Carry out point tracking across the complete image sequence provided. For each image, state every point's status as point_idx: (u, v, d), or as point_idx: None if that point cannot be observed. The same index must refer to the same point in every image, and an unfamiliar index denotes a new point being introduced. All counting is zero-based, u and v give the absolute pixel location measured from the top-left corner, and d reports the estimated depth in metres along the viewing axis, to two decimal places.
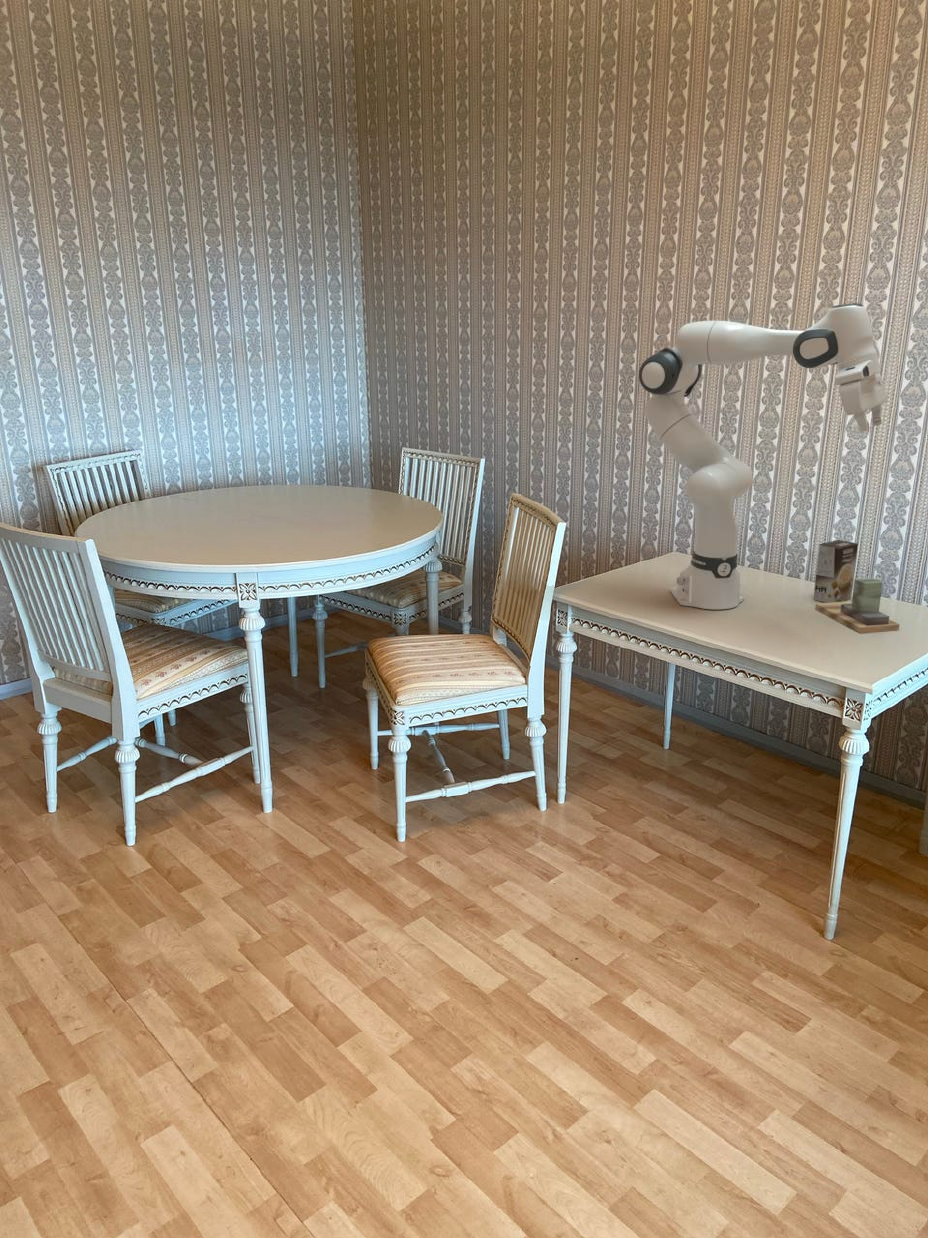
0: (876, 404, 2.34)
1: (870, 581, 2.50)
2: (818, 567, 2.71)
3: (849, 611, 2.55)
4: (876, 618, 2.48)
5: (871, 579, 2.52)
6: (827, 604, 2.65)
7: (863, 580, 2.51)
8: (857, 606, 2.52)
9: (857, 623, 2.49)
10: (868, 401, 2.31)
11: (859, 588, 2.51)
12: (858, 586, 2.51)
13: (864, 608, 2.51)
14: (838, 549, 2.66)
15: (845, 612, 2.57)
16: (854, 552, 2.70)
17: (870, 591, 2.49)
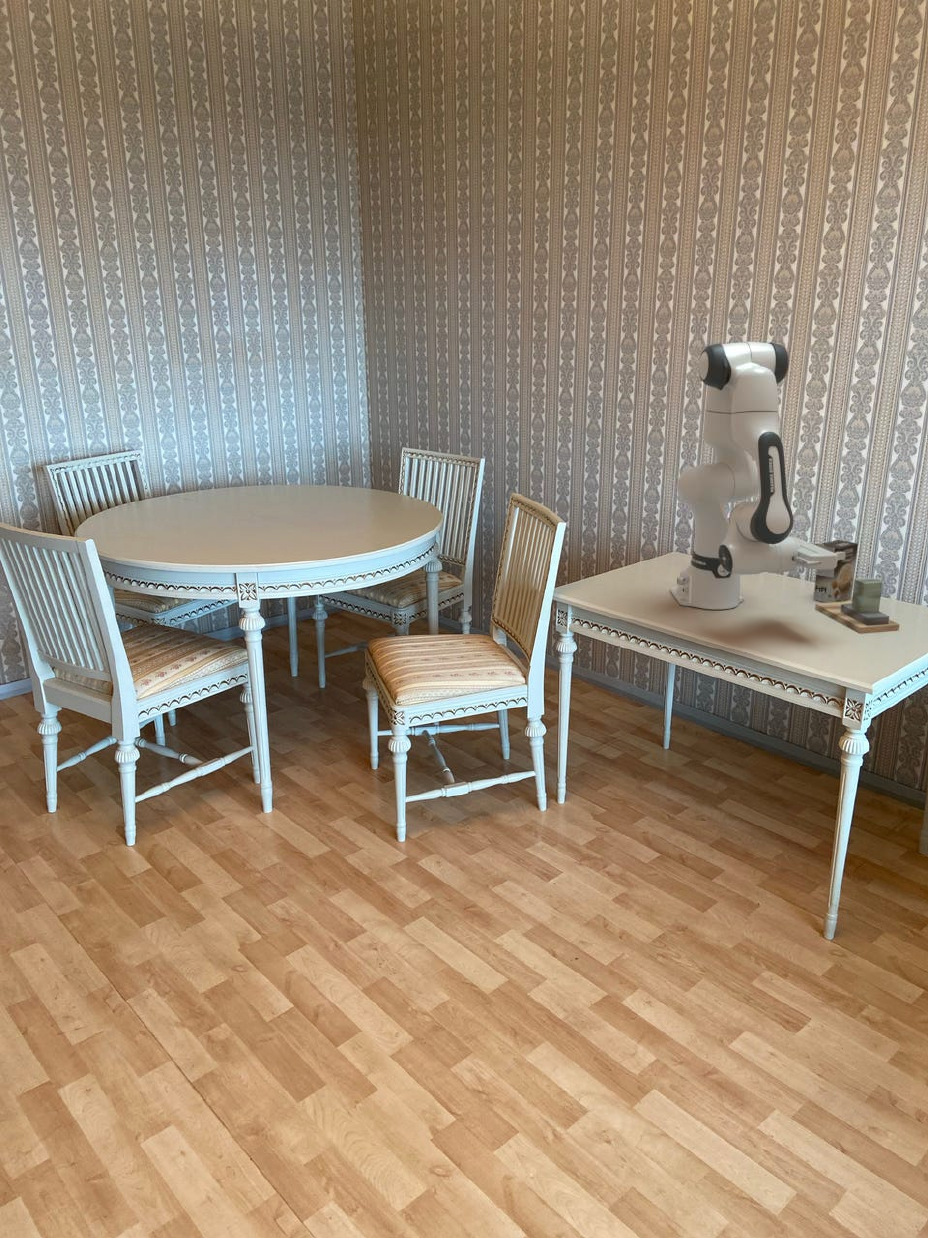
0: None
1: (870, 581, 2.50)
2: None
3: (849, 611, 2.55)
4: (876, 618, 2.48)
5: (871, 579, 2.52)
6: (827, 604, 2.65)
7: (863, 580, 2.51)
8: (857, 606, 2.52)
9: (857, 623, 2.49)
10: None
11: (859, 588, 2.51)
12: (858, 586, 2.51)
13: (864, 608, 2.51)
14: (838, 549, 2.66)
15: (845, 612, 2.57)
16: (854, 552, 2.70)
17: (870, 591, 2.49)
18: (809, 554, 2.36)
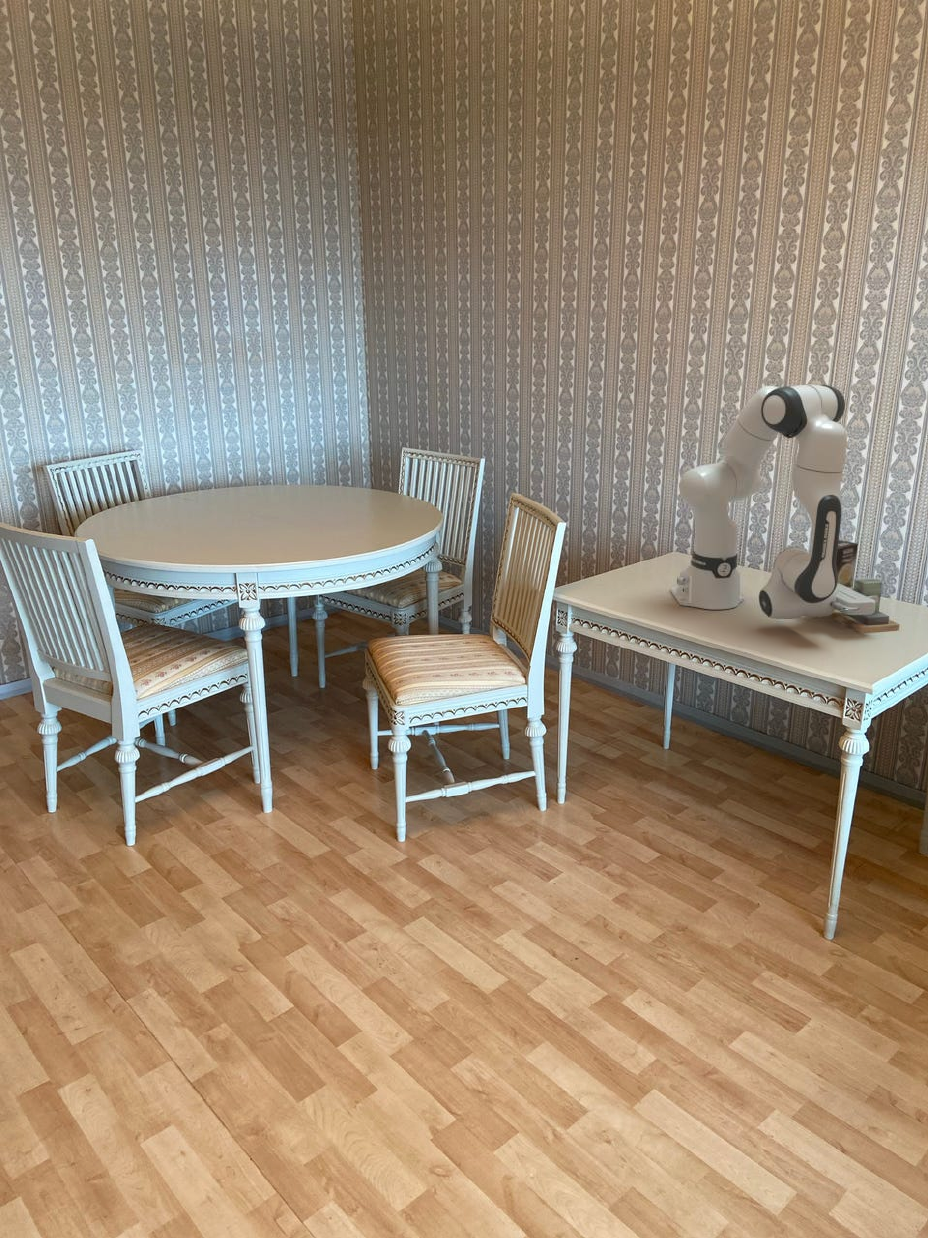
0: None
1: (870, 581, 2.50)
2: None
3: None
4: (876, 618, 2.48)
5: (871, 579, 2.52)
6: None
7: (863, 580, 2.51)
8: None
9: (857, 623, 2.49)
10: None
11: (859, 587, 2.51)
12: (858, 586, 2.51)
13: None
14: (838, 549, 2.66)
15: None
16: (854, 552, 2.70)
17: (870, 591, 2.49)
18: (848, 600, 2.42)
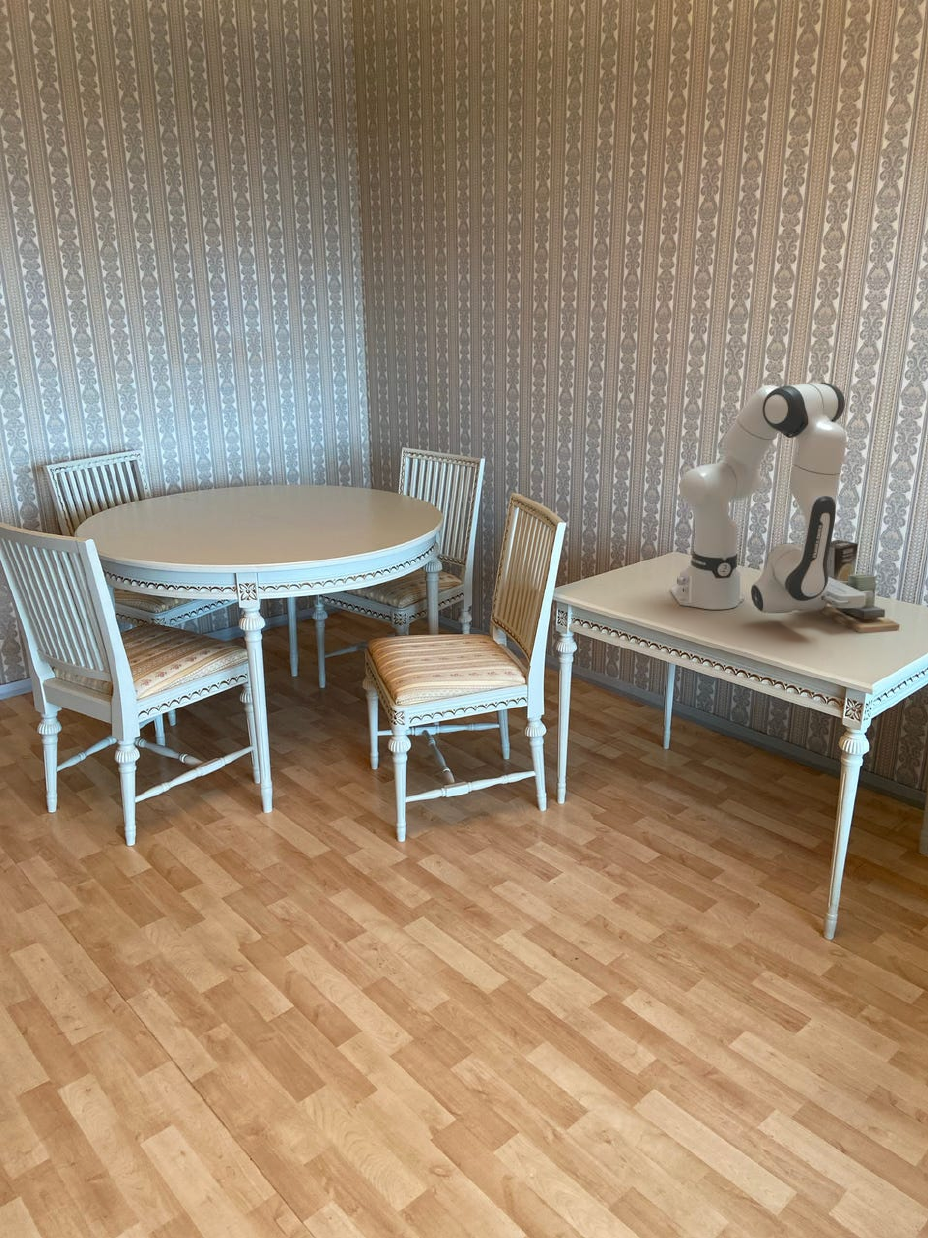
0: None
1: (863, 575, 2.53)
2: None
3: None
4: (872, 611, 2.50)
5: (864, 574, 2.55)
6: (827, 604, 2.65)
7: (857, 576, 2.53)
8: None
9: (857, 623, 2.49)
10: None
11: (853, 583, 2.53)
12: (852, 581, 2.53)
13: None
14: (838, 549, 2.66)
15: (841, 609, 2.59)
16: (854, 552, 2.70)
17: (864, 585, 2.52)
18: (838, 594, 2.46)
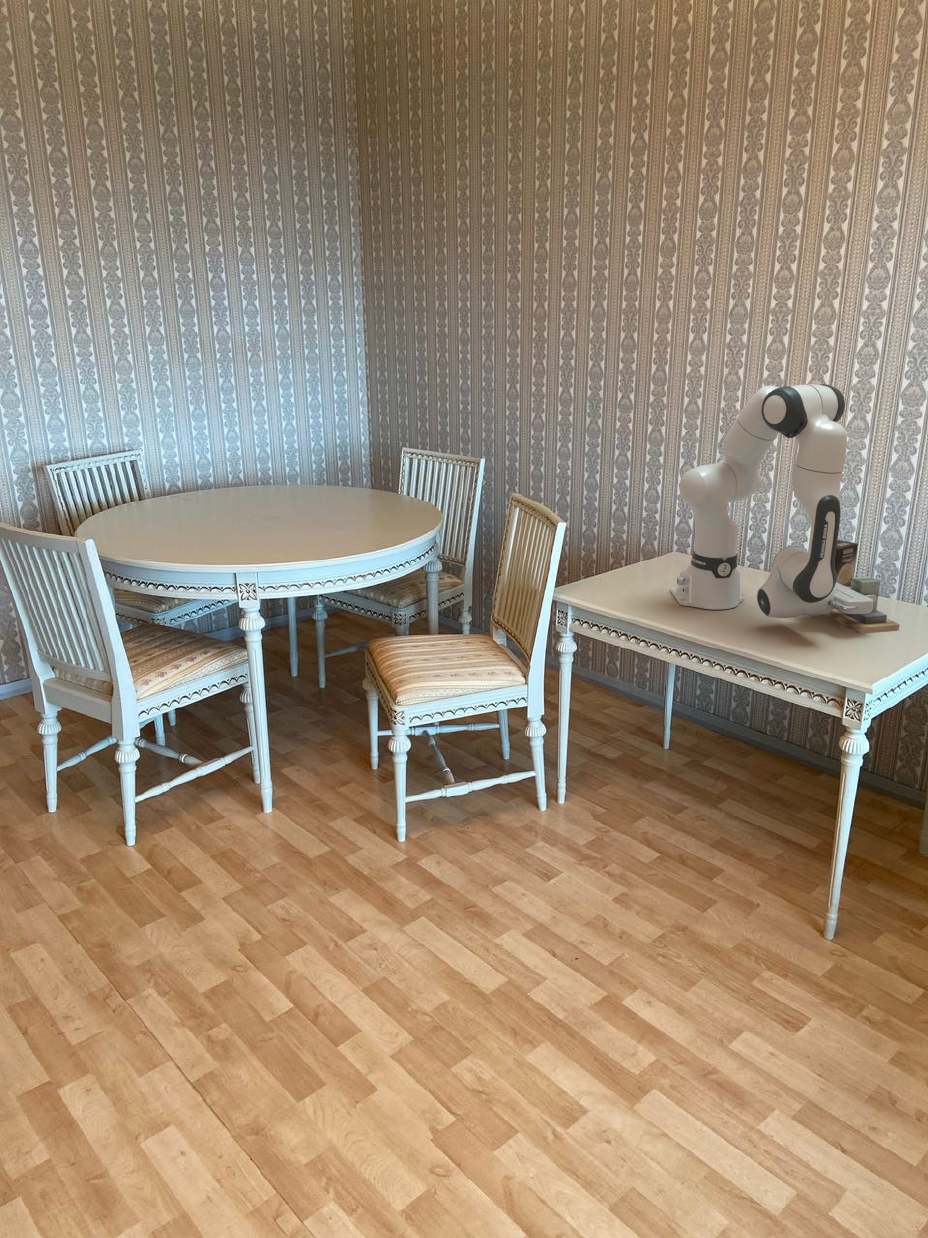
0: None
1: (867, 580, 2.51)
2: None
3: None
4: (874, 617, 2.49)
5: (868, 578, 2.53)
6: None
7: (861, 579, 2.52)
8: None
9: (857, 623, 2.49)
10: None
11: (857, 586, 2.52)
12: (856, 585, 2.52)
13: None
14: (838, 549, 2.66)
15: None
16: (854, 552, 2.70)
17: (868, 590, 2.50)
18: (845, 599, 2.43)
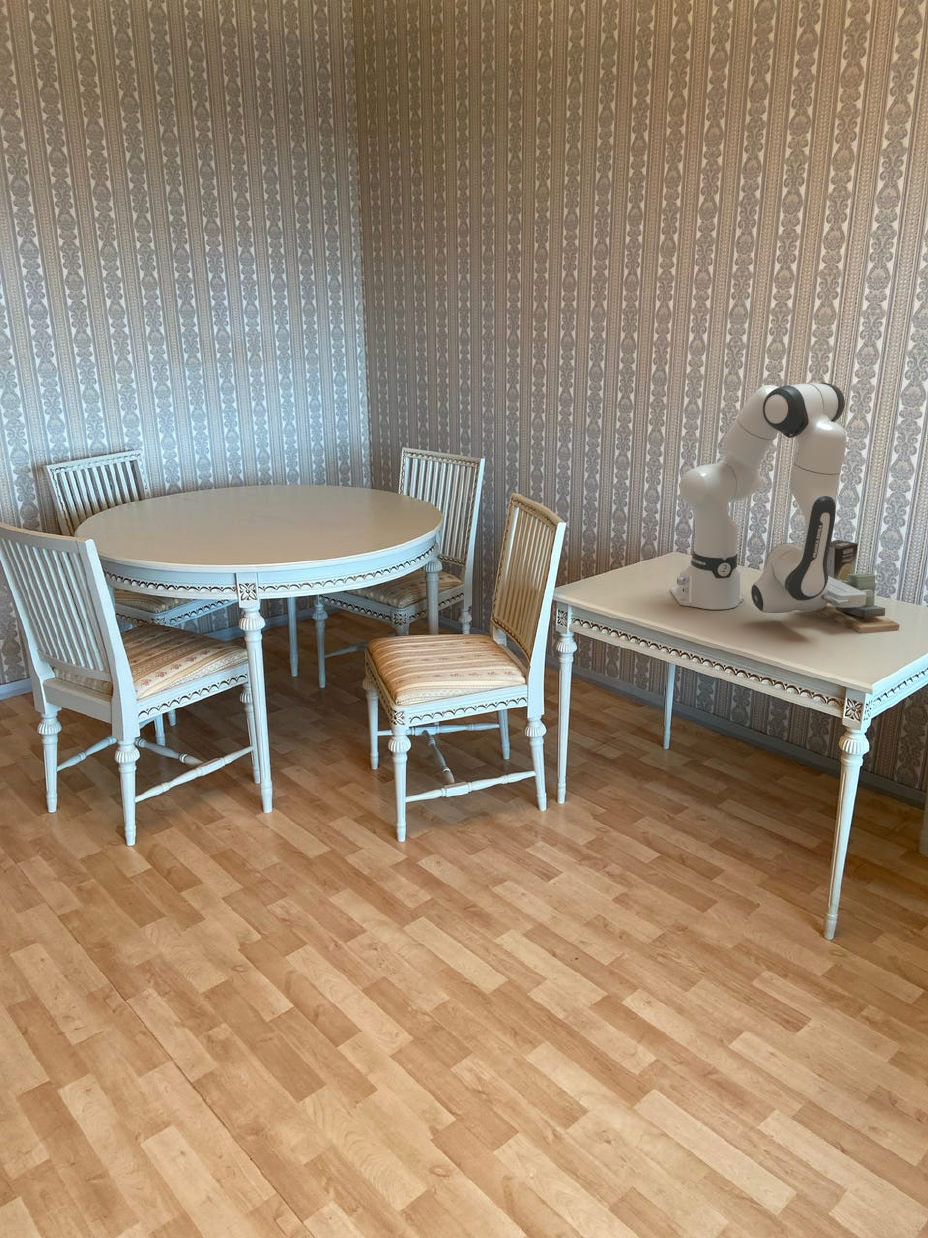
0: None
1: (863, 575, 2.53)
2: None
3: None
4: (873, 610, 2.50)
5: (864, 574, 2.55)
6: (827, 604, 2.65)
7: (856, 575, 2.53)
8: None
9: (857, 623, 2.49)
10: None
11: (853, 582, 2.53)
12: (852, 580, 2.54)
13: None
14: (838, 549, 2.66)
15: (841, 609, 2.59)
16: (854, 552, 2.70)
17: (864, 584, 2.52)
18: (838, 593, 2.46)
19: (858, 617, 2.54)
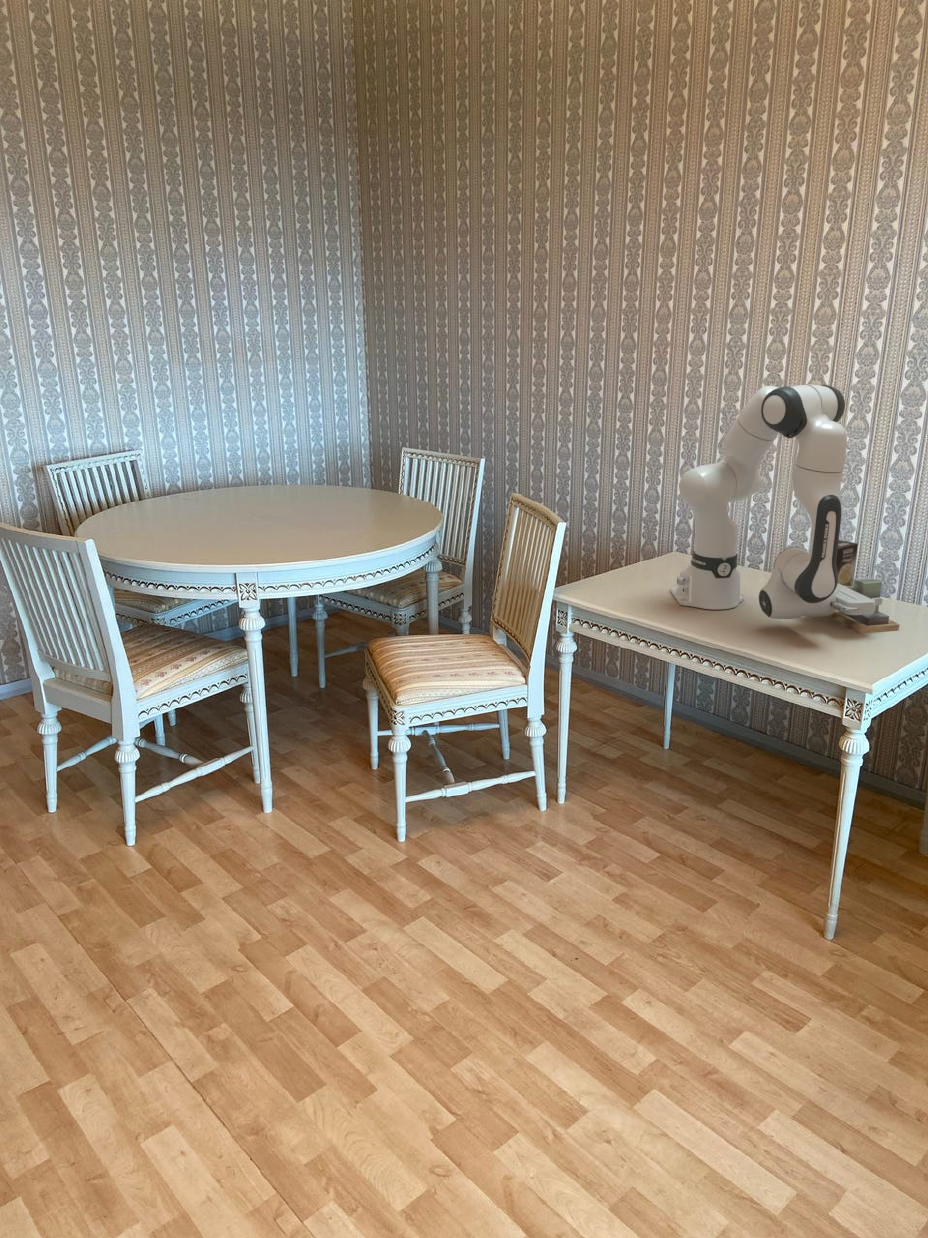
0: None
1: (869, 581, 2.50)
2: None
3: None
4: (876, 618, 2.48)
5: (870, 579, 2.52)
6: None
7: (862, 580, 2.51)
8: None
9: (857, 623, 2.49)
10: None
11: (859, 588, 2.51)
12: (858, 586, 2.51)
13: None
14: (838, 549, 2.66)
15: None
16: (854, 552, 2.70)
17: (869, 591, 2.49)
18: (847, 600, 2.42)
19: None
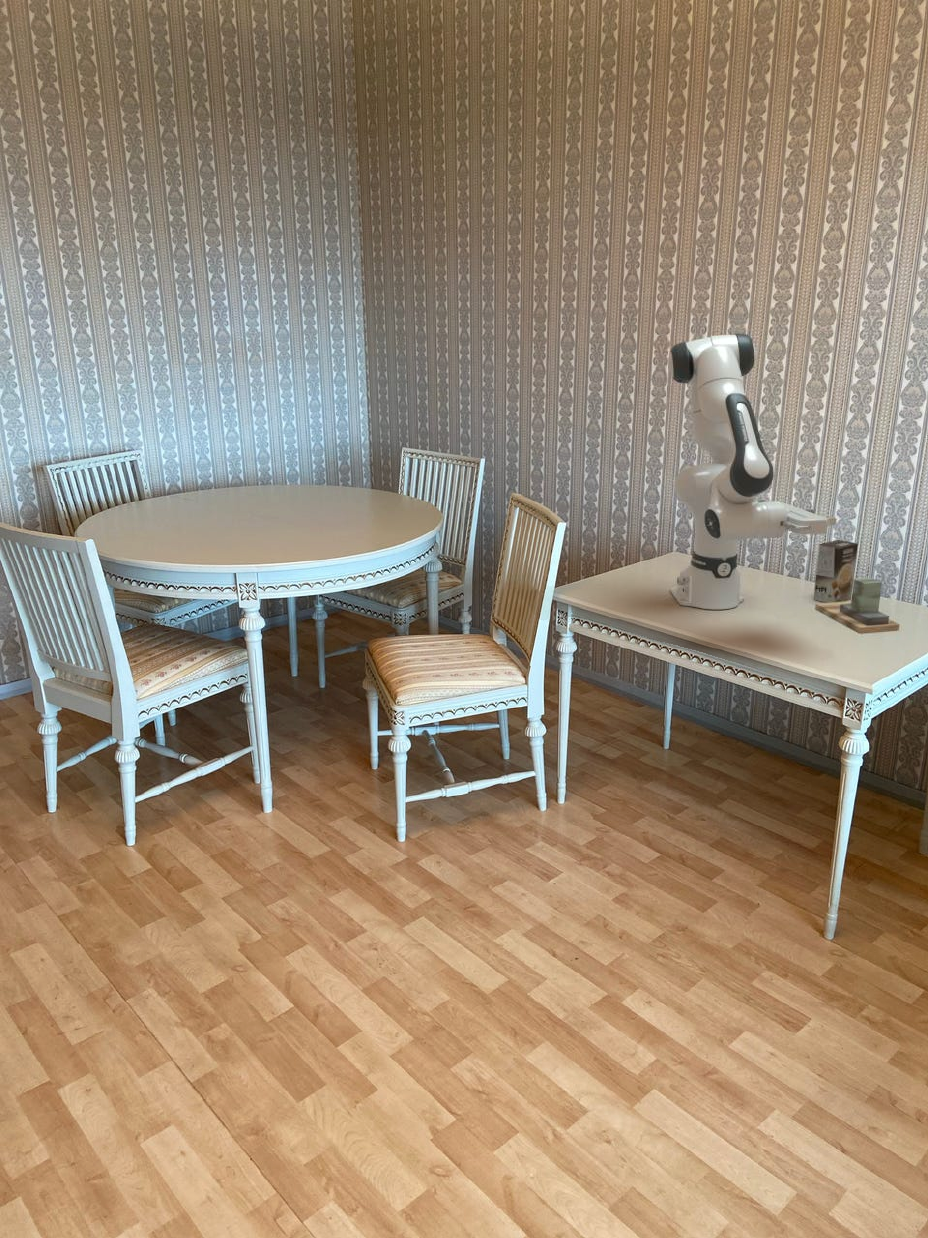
0: None
1: (869, 581, 2.50)
2: (818, 567, 2.71)
3: (848, 611, 2.55)
4: (876, 618, 2.48)
5: (870, 579, 2.52)
6: (827, 604, 2.65)
7: (862, 580, 2.51)
8: (856, 606, 2.52)
9: (857, 623, 2.49)
10: None
11: (859, 588, 2.51)
12: (858, 586, 2.51)
13: (864, 608, 2.51)
14: (838, 549, 2.66)
15: (844, 612, 2.57)
16: (854, 552, 2.70)
17: (869, 591, 2.49)
18: (798, 518, 2.28)
19: None
